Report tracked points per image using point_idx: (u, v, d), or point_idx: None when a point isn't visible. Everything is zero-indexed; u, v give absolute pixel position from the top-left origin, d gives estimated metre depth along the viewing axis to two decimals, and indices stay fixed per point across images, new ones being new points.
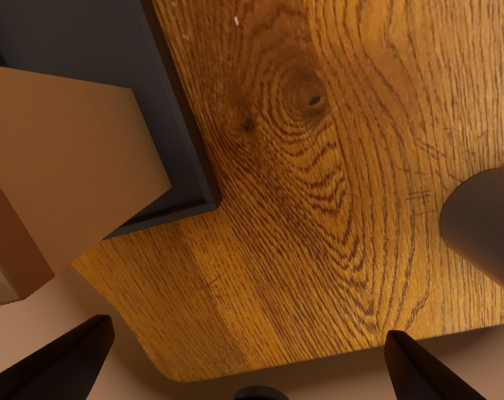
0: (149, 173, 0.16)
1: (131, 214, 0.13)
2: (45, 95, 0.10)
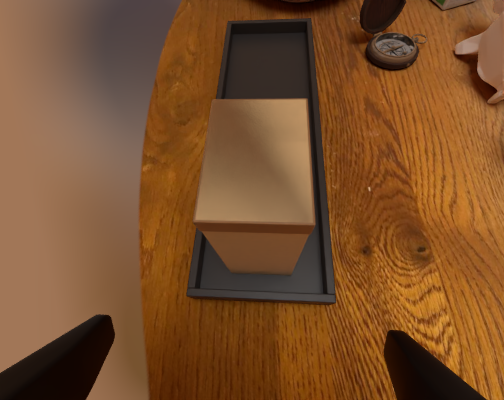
0: None
1: None
2: None
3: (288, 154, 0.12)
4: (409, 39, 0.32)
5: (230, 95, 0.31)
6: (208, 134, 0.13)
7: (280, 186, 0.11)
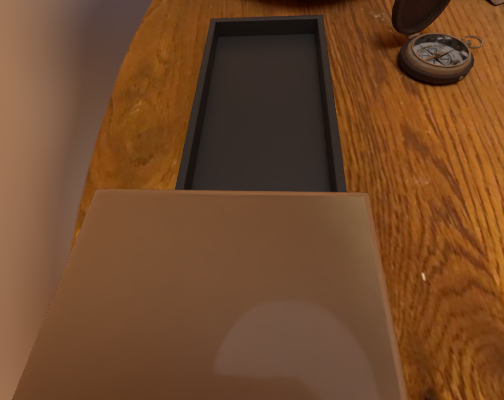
0: None
1: None
2: None
3: None
4: (459, 42, 0.23)
5: (211, 121, 0.22)
6: (45, 329, 0.04)
7: None
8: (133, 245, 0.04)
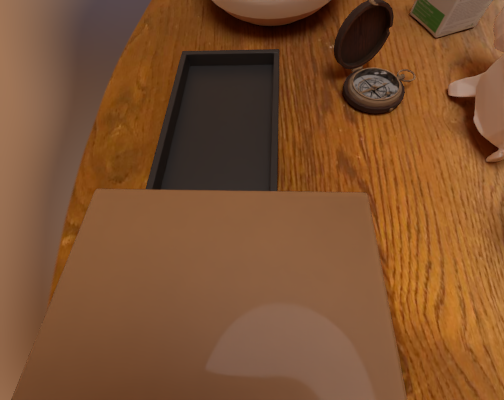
0: None
1: None
2: None
3: None
4: (393, 77, 0.27)
5: (177, 145, 0.26)
6: (44, 329, 0.04)
7: None
8: (132, 245, 0.04)
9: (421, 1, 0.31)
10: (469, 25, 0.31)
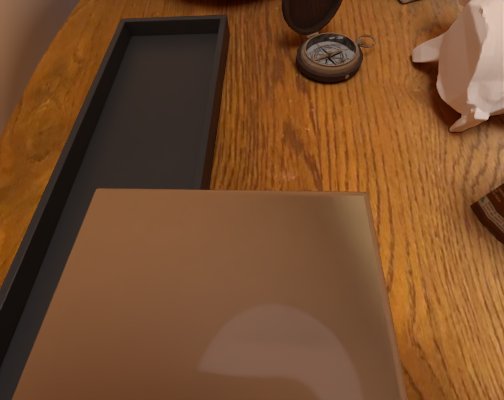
0: None
1: None
2: None
3: None
4: (351, 42, 0.24)
5: (105, 119, 0.23)
6: (45, 329, 0.04)
7: None
8: (133, 244, 0.04)
9: None
10: None
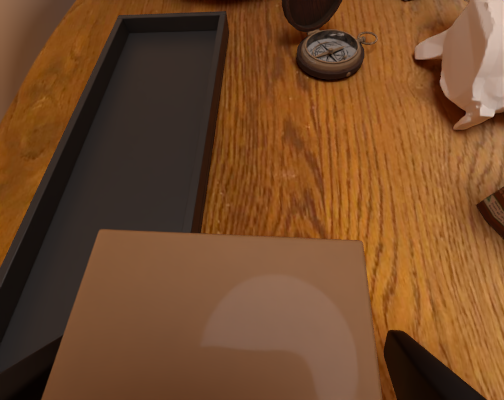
0: None
1: None
2: None
3: None
4: (352, 39, 0.24)
5: (102, 116, 0.22)
6: (54, 375, 0.04)
7: None
8: (135, 291, 0.04)
9: None
10: None
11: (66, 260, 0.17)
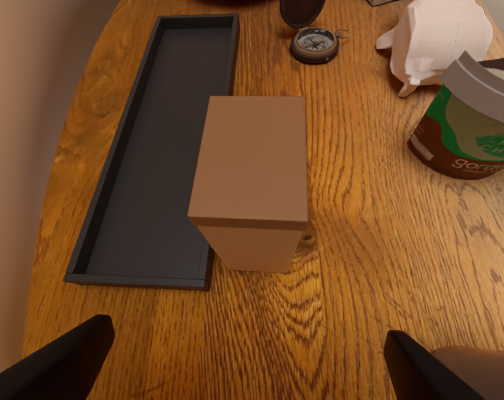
0: None
1: (293, 254, 0.16)
2: None
3: (283, 151, 0.12)
4: (331, 34, 0.33)
5: (150, 88, 0.31)
6: (205, 130, 0.13)
7: (274, 182, 0.11)
8: (227, 111, 0.13)
9: None
10: None
11: (137, 176, 0.26)
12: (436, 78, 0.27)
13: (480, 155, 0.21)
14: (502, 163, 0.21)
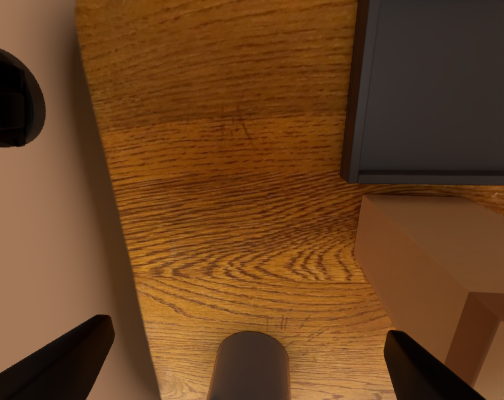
0: None
1: None
2: None
3: None
4: None
5: None
6: None
7: None
8: None
9: None
10: None
11: None
12: None
13: None
14: None
